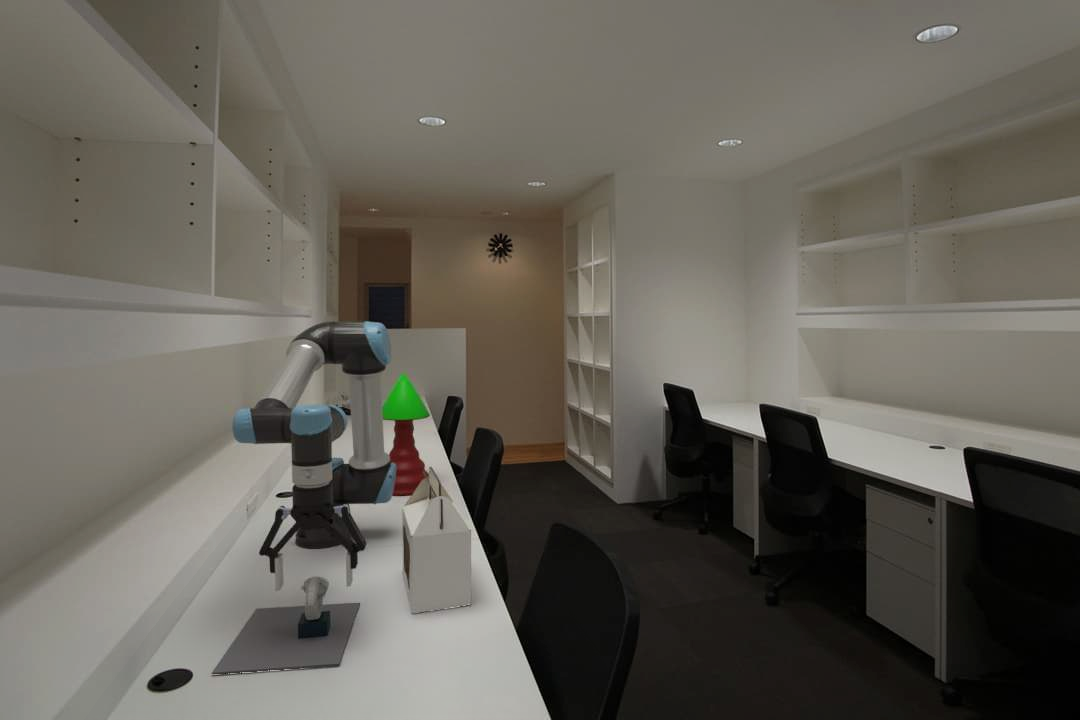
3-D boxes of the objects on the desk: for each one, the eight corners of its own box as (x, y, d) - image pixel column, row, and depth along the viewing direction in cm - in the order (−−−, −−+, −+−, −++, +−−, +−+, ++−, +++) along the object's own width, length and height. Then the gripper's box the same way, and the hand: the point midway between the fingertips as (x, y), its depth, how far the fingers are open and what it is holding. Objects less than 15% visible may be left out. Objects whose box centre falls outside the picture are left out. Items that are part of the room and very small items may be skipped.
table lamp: (373, 485, 230) (372, 370, 227) (423, 479, 238) (423, 369, 235) (382, 498, 212) (381, 375, 209) (436, 492, 220) (436, 373, 217)
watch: (331, 620, 123) (330, 569, 123) (326, 640, 116) (325, 586, 115) (303, 623, 122) (302, 572, 122) (295, 643, 114) (294, 589, 114)
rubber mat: (256, 611, 128) (256, 608, 128) (360, 605, 132) (360, 602, 132) (211, 676, 105) (211, 672, 105) (339, 666, 108) (339, 663, 108)
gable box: (402, 573, 148) (401, 465, 147) (454, 567, 153) (454, 461, 151) (411, 615, 127) (411, 488, 126) (471, 606, 131) (471, 484, 130)
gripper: (239, 490, 111) (243, 598, 113) (374, 486, 115) (375, 590, 117) (252, 479, 119) (255, 580, 121) (379, 475, 122) (380, 573, 124)
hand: (314, 585), depth 119 cm, fingers open, 13 cm apart
